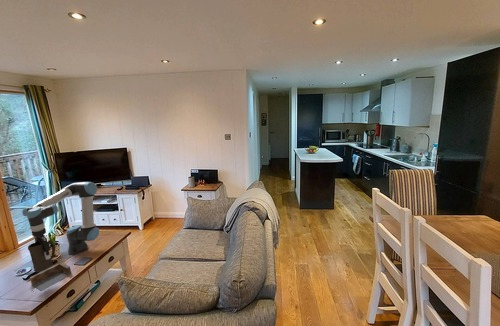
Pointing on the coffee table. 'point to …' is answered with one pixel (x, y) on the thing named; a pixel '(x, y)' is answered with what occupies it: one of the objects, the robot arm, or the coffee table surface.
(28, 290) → the coffee table surface
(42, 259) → the beer stein
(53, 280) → the pad
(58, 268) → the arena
